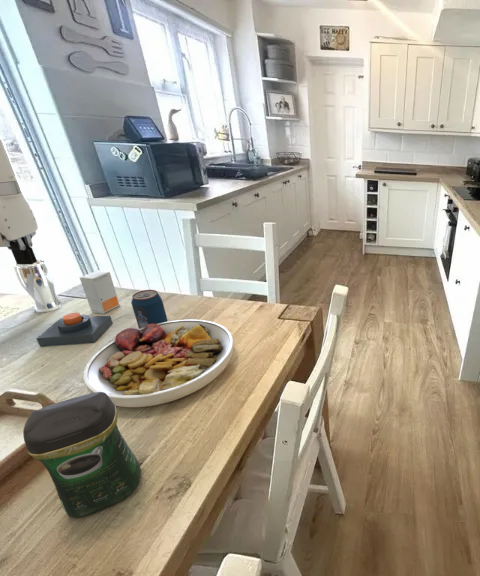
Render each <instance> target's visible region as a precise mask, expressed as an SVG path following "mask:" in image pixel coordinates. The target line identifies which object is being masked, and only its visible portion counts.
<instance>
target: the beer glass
mask: <svg viewBox="0 0 480 576" xmlns="http://www.w3.org/2000/svg"><path fill="white" fill-rule="evenodd" d="M36 260H37V262H35V263H33V264H17V263H14V264H12V265H13V268H14V269H13V270H14V272H15V276H16V277H17V279H18V282H19V283H20V285H21V286H22V288H23V290H24V291H25V292H26V293H27V294H28V296H29V297H30V298H31V300H32V303H33V307H34V311H35V312H36V313H40V312H42V314H43V313H49V311H50V312H54V311H56V310H58V309H61V308H62V306H63V303H62V302H61V300H60V299H59V297H58V296H57V292H56V287H55V281H54V276H53V274H52V271H51V269H50V267H49V265H48V264H47V261H46V260H45V259H42V258H36Z"/></svg>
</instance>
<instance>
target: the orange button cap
mask: <svg viewBox="0 0 480 576" xmlns="http://www.w3.org/2000/svg"><path fill="white" fill-rule="evenodd" d="M62 318H63V321H64V323H65V325H71V324H75V323H78V322H81V321H82V317H81V313H80V312H71V313H68V314H65V315H64V316H62Z"/></svg>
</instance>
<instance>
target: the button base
mask: <svg viewBox="0 0 480 576" xmlns="http://www.w3.org/2000/svg"><path fill="white" fill-rule="evenodd" d="M80 315H81V317H82V321H81V322H78V323H75V324H71V325H65V323H64V321H63V317H61V318H59V319H58V320H57V321H56V322H54V323H53V324H52V325H50V326H49V327H48V328H46V330H44V331H42V333H41V334H40V335H38V336H37V337H36V341H37V343H38V345H39V347H41V348H42V347H55V346H72V345H84V344H85V345H87V344H95V343H96V342H97V341H98V340H99V339H100V338H101V337H102V336H103V334H105V333H106V331H107V330H108V329H109V328H110V327H111V326H112V325H113V323H114V321H113V319H112V317H111V315H96V316H95V315H94V316H93V315H92V316H90V315H87V314H84V313H83V314H81V313H80Z"/></svg>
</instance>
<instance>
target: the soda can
mask: <svg viewBox="0 0 480 576" xmlns="http://www.w3.org/2000/svg"><path fill="white" fill-rule="evenodd" d="M131 298H132V299H131V302H130V303H131V307H132V310H133V314H134V317H135V320H136V323H137V327H138V329H141V328H144V327H146V326H147V325H148V324H152V323H153V324H159V323H163V322H169V321H168V316H167V313H166V312H167V311H166V309H165V306H164V302H163V301H164V300H163V298H162V296H161V295H160V294H159V292H158V290H156V289H143V290H140V291H137V292H135V293H134V294H132V297H131Z"/></svg>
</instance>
